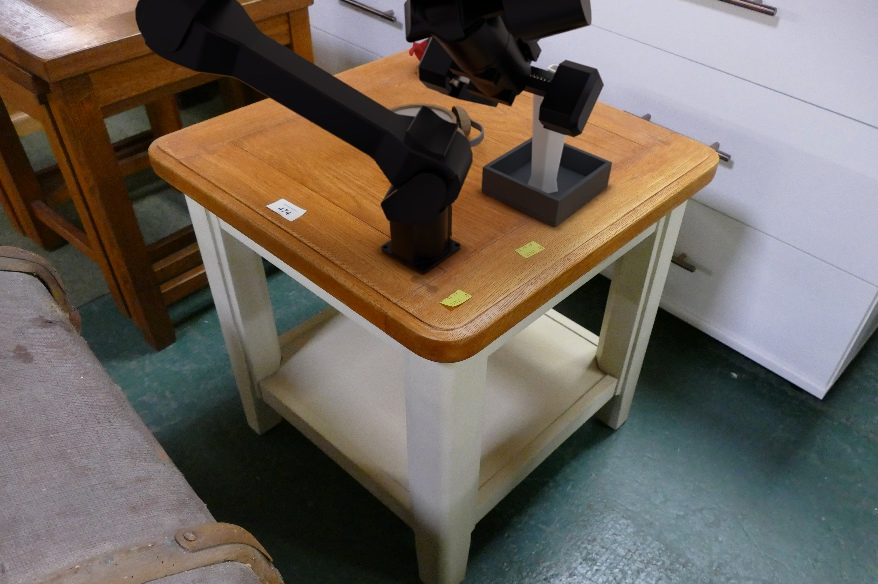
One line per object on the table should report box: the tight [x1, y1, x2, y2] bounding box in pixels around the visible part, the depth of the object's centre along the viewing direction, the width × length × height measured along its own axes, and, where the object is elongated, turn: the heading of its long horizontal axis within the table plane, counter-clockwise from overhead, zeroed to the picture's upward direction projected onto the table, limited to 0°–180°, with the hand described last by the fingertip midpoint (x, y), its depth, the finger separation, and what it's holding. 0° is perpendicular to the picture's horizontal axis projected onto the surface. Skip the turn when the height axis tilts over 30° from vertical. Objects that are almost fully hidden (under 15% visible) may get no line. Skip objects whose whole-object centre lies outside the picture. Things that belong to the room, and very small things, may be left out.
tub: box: [481, 137, 613, 228], centre depth 84 cm, size 12×11×4 cm
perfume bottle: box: [528, 63, 567, 193], centre depth 79 cm, size 5×4×15 cm
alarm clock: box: [388, 102, 485, 148], centre depth 90 cm, size 11×5×15 cm
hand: (532, 114), depth 74 cm, fingers open, 9 cm apart
